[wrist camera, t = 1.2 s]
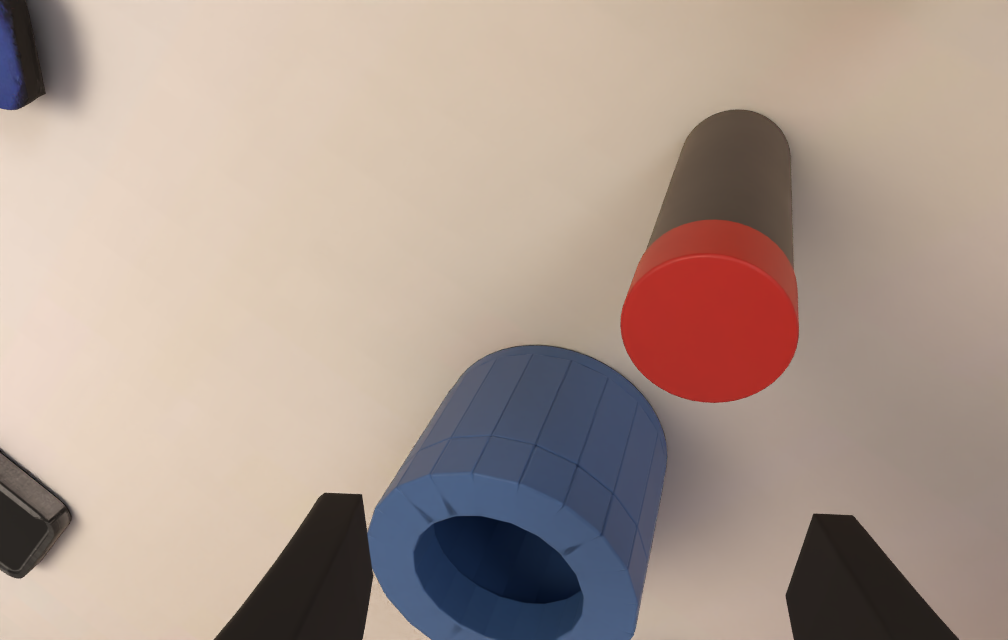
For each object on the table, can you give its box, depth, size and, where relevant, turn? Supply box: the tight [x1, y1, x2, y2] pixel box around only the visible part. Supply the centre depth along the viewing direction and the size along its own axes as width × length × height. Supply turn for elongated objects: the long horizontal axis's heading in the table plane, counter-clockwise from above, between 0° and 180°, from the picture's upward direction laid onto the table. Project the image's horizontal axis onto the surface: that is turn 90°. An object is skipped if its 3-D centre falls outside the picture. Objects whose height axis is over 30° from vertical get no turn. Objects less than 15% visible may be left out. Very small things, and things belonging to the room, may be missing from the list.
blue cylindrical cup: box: [367, 345, 667, 640], centre depth 24 cm, size 8×8×6 cm
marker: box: [621, 110, 799, 403], centre depth 16 cm, size 3×3×9 cm
